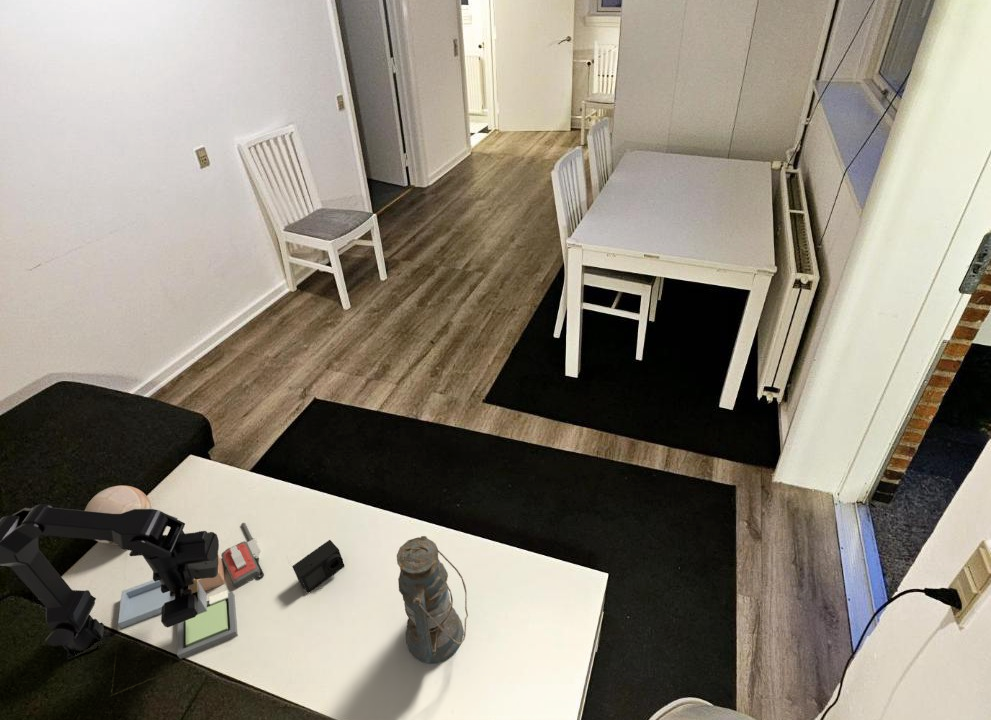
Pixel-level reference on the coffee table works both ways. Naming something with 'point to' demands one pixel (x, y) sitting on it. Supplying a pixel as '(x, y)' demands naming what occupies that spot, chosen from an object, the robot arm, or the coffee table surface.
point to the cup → (216, 581)
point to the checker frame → (213, 640)
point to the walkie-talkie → (243, 560)
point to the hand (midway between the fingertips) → (194, 604)
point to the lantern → (428, 602)
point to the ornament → (118, 502)
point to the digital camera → (318, 566)
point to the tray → (142, 602)
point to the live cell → (199, 596)
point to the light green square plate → (207, 624)
